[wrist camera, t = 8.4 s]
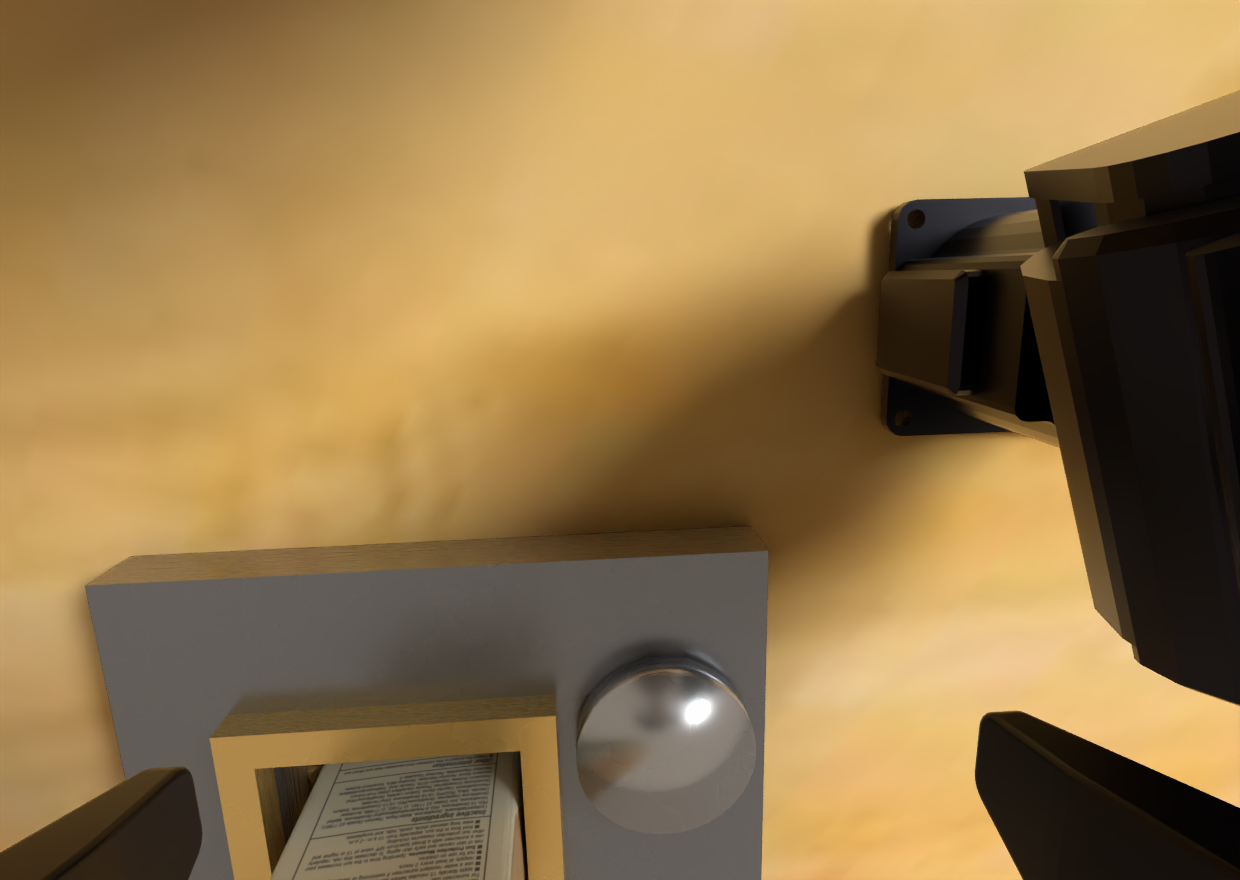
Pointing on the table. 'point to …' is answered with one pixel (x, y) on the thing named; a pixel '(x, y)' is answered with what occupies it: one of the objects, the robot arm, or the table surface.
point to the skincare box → (412, 821)
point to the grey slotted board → (459, 686)
